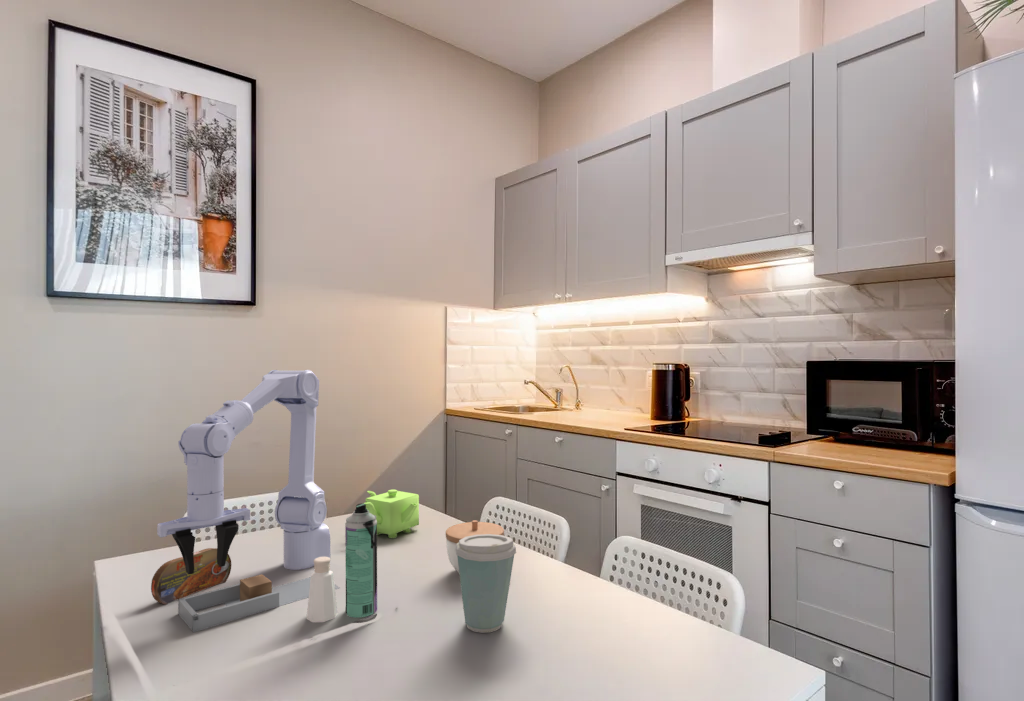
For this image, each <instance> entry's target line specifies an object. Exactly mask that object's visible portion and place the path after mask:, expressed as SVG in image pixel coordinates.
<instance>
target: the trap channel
mask: <svg viewBox="0 0 1024 701" xmlns="http://www.w3.org/2000/svg"><path fill="white" fill-rule="evenodd" d="M310 580H311V576H310V577H305V578H302V579H298V580H295V581H291V582H288V583H285V584H280V585H277V586H272V593H269V594H266V595H262V596H259V597H255V598H252V599H248V600H245V601H241V602H240V582H239V583H237V584H232V585H229V586H224V587H221V588H217V589H213V590H210V591H209V590H208V591H205V592H202V593H198V594H194V595H193V594H192V595H191V596H190V595H189V596H186V597H183V598H180V599H178V600H177V602H178V603H177V605H178V609H177V613H178V615H179V617H180V618H181V619H182V620H183V622H184V623H185V624H186V625H187V626H188V628H189V629H190V630H191V631H192V633H196V632H198V631H202V630H205V629H206V630H207V629H209V628H213V627H215V626H218V625H222V624H225V623H229V622H232V621H235V620H239V619H242V618H245V617H249V616H252V615H255V614H258V613H263V612H265V611H269V610H271V609H275V608H279V607H281V606H286V605H288V604H292V603H296V602H298V601H302V600H306V599H309V590H310ZM338 589H341V587H340V586H338V585H337V584H335V591H336V590H338ZM221 604H222V605H223V604H224V605H223V606H220V607H217V608H213V609H209V610H207V611H203V612H199V613H197V611H200V610H203V609H207V608H210V607H213V606H218V605H221Z"/></svg>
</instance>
